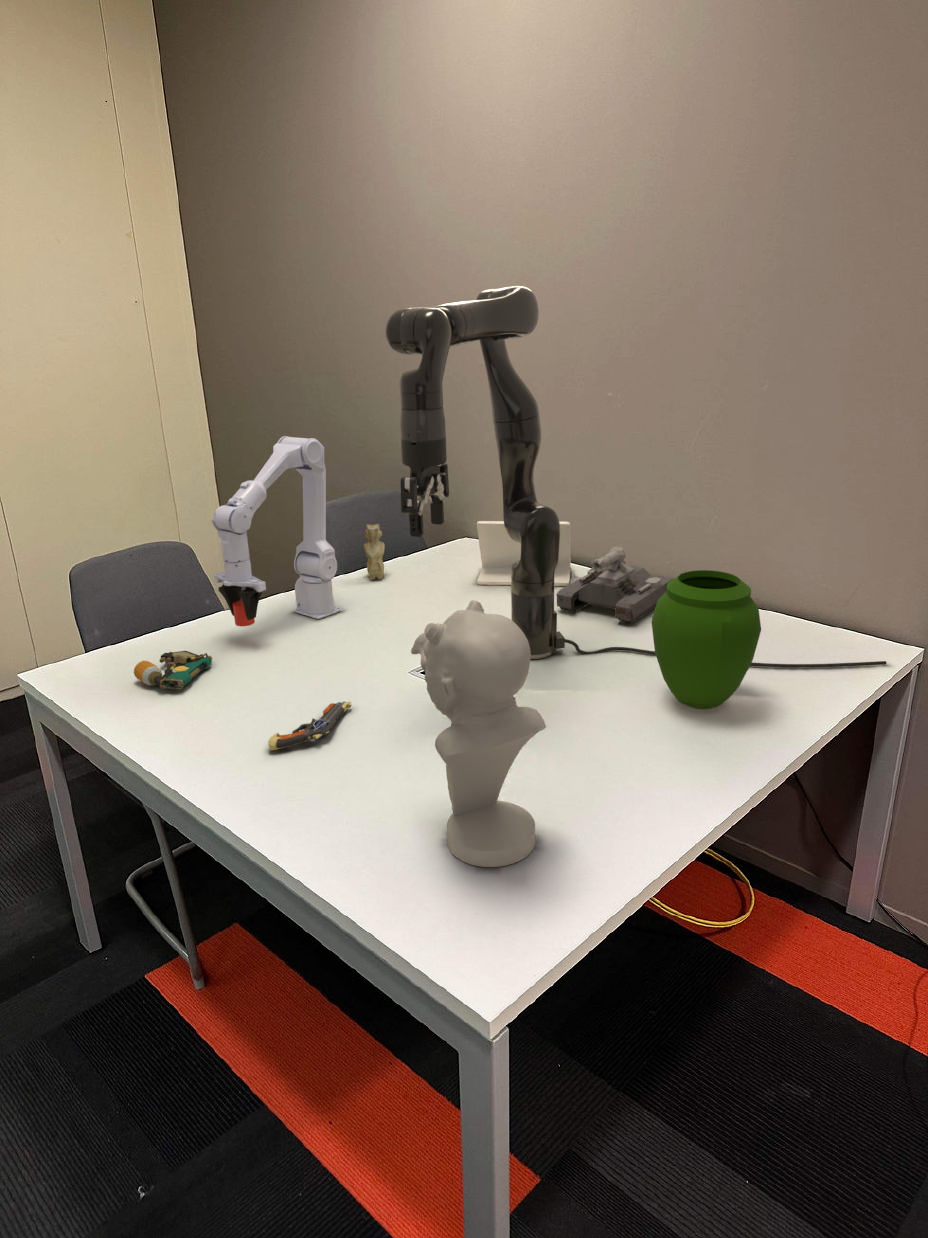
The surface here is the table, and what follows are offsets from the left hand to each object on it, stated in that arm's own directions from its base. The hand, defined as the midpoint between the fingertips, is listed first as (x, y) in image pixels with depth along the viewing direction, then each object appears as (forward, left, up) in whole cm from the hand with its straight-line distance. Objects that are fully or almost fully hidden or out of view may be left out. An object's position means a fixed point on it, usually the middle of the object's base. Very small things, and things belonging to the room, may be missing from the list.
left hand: (244, 616), depth 194 cm
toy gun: (+45, -19, -7) cm, 49 cm away
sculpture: (-12, +52, -7) cm, 54 cm away
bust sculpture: (+88, -25, -7) cm, 92 cm away
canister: (0, 0, -2) cm, 2 cm away
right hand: (+59, 0, +29) cm, 66 cm away
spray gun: (+3, -20, -7) cm, 21 cm away
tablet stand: (+21, +78, -7) cm, 82 cm away
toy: (+54, +72, -7) cm, 91 cm away
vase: (+95, +35, -7) cm, 102 cm away
